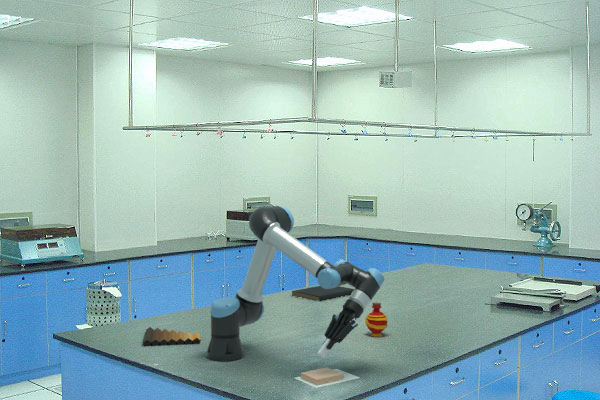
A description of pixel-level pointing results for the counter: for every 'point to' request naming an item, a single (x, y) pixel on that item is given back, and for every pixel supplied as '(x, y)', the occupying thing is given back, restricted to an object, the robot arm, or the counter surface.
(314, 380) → the terracotta tile
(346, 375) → the white rectangular board
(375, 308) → the potion bottle
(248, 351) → the counter surface
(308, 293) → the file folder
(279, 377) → the counter surface
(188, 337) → the pan flute
